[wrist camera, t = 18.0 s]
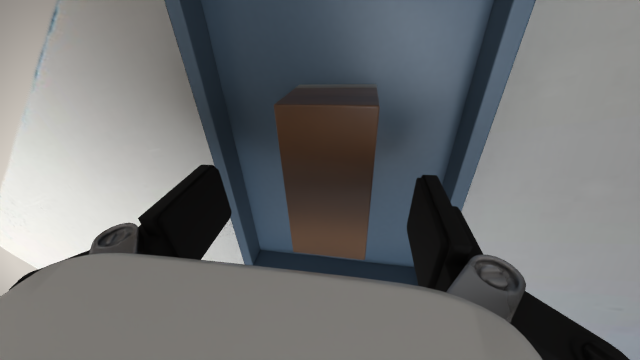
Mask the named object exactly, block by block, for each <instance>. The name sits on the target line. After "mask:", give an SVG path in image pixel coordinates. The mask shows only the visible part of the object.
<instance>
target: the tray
mask: <svg viewBox="0 0 640 360" xmlns="http://www.w3.org/2000/svg"><path fill="white" fill-rule="evenodd" d="M164 1H165V4H166V7H167V10H168V14H169V17H170V20H171V24H172V27H173V30H174V33H175V37H176V40H177V43H178V47H179V50H180V53H181V56H182V60H183V63H184V66H185V70H186V73H187V76H188V80H189V83H190V86H191V89H192V93H193V96H194V99H195V103H196V106H197V109H198V112H199V116H200V119H201V122H202V126H203V129H204V132H205V135H206V139H207V142H208V145H209V149H210V152H211V155H212V159H213V162H214V165H215V167H216V168H217V169H218V170H219V172H220V175H221V178H222V182H223V185H224V188H225V191H226V195H227V198H228V201H229V204H230V208H231V211H232V213H231V217H230V218H231V221H232V224H233V228H234V231H235V234H236V238H237V241H238V244H239V247H240V251H241V254H242V257H243V261H244V264H245V265H252V266H261V267H270V268H279V269H288V270H297V271H306V272H315V273H323V274H332V275H341V276H349V277H358V278H365V279H373V280H381V281H388V282H396V283H403V284H409V285H415V286H418V281H417V277H416V272H415V267H414V263H413V258H412V253H411V248H410V244H409V239H408V234H407V221H408V217H409V212H410V207H411V202H412V198H413V193H414V188H415V184H416V179H417V178H421V176H422V175H437V176H438V178H439V180H440V182H441V184H442V186H443V188H444V190H445V192H446V194H447V196H448V198H449V200H450V202H451V204H452V206H456V207H458V208H459V209H460V211H462V208H463V205H464V202H465V199H466V196H467V194H468V191H469V188H470V185H471V182H472V179H473V177H474V174H475V171H476V168H477V165H478V162H479V160H480V157H481V154H482V151H483V148H484V145H485V143H486V140H487V137H488V134H489V131H490V128H491V126H492V123H493V120H494V117H495V114H496V111H497V109H498V106H499V103H500V100H501V97H502V94H503V92H504V89H505V86H506V83H507V80H508V77H509V75H510V72H511V69H512V66H513V63H514V60H515V58H516V55H517V52H518V49H519V46H520V43H521V41H522V38H523V35H524V32H525V29H526V26H527V24H528V21H529V18H530V15H531V12H532V10H533V7H534V4H535V1H536V0H164ZM334 84H376V85H377V91H378V98H379V105H380V110H379V121H378V131H377V141H376V152H375V162H374V172H373V183H372V193H371V203H370V214H369V224H368V234H367V245H366V255H365V260H359V259H351V258H342V257H333V256H324V255H316V254H307V253H298V252H293V247H292V239H291V232H290V224H289V217H288V209H287V202H286V195H285V187H284V180H283V172H282V165H281V158H280V150H279V143H278V135H277V128H276V120H275V113H274V104H275V103H276V102H278V101H279V100H280V99H282V98H283V97H284V96H286V95H287V94H288V93H289V92H291V91H292V90H293V89H295V88H296V87H297V86H298V85H334Z"/></svg>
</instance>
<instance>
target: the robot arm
mask: <svg viewBox="0 0 640 360" xmlns="http://www.w3.org/2000/svg"><path fill="white" fill-rule="evenodd" d="M231 213H232V211H231V208H230V204H229V201H228V198H227V195H226V191H225V188H224V185H223V182H222V178H221V175H220V172H219V170H218V169H217V168H216V167H215V166H214V165H200V166H199V167H198V168H197V169H195V170H194V171H193V172H192V173H191V174H190V175H188V176H187V177H186V178H185V179H184V180H182V181H181V182H180V183H179V184H178V185H177V186H175V187H174V188H173V189H172V190H171V191H170V192H168V193H167V194H166V195H165V196H164V197H162V198H161V199H160V200H159V201H158V202H157V203H155V204H154V205H153V206H152V207H151V208H149V209H148V210H147V211H146V212H145V213H144V214H142V215H141V216H140V217H139V218H138V219H139V221H140V223H141V225H140V226H139V227H138V226H137V225H135V224H133V223H124V224H119V225H116V226H114V227H111V228H109V229H107V230H105V231H104V232H102V233H101V234H100V235H98V236H97V237H96V238H95V239H94V241H93V243H92V246H91V249H90V250H89V251H86V252H83V253H81V254H78V255H76V256H73V257H70V258H68V259H65V260H62V261H60V262H57V263H54V264H51V265H49V266H47V267H44V268H41V269H39V270H36V271H33V272H30V273H28V274H27V275H25V276H23V277H22V278H21V279H20V280H18V282H17V283H16V284H14V285H13V286H12V287H11V288H10V289H9V291H8V292H7V293H5V294H4V295H2V296H0V360H630V359H628V358H627V357H626V356H625V355H624V354H623V353H622V352H621V351H619V350H618V349H616V348H615V347H614V346H612V345H611V344H609V343H608V342H606V341H605V340H603V339H601V338H600V337H598V336H597V335H595V334H593V333H592V332H590V331H589V330H587V329H585V328H584V327H582V326H581V325H579V324H577V323H576V322H574V321H572V320H571V319H569V318H568V317H566V316H564V315H563V314H561V313H560V312H558V311H556V310H555V309H553V308H552V307H550V306H548V305H547V304H545V303H543V302H542V301H540V300H539V299H537V298H535V297H534V296H532V295H531V294H529V293H527V292H526V291H525V287H526V283H525V280H524V278H523V276H522V275H521V274H520V272H519V271H518V270H517V269H516V268H515V267H513V266H512V265H511V264H509V263H508V262H506V261H504V260H502V259H500V258H498V257H495V256H491V255H483V253H482V251H481V249H480V247H479V245H478V243H477V242H476V240H475V238H474V236H473V234H472V232H471V230H470V228H469V226H468V224H467V222H466V221H465V219H464V217H463V215H462V213H461V211H460V209H459V208H458V207H456V206H452V204H451V202H450V200H449V198H448V196H447V194H446V192H445V190H444V188H443V186H442V184H441V182H440V180H439V178H438V176H437V175H422V176H421V178H417V179H416V184H415V188H414V193H413V198H412V202H411V207H410V212H409V217H408V221H407V234H408V239H409V244H410V248H411V253H412V258H413V263H414V267H415V272H416V277H417V281H418V286H415V285H409V284H403V283H396V282H388V281H381V280H373V279H365V278H358V277H349V276H341V275H332V274H323V273H315V272H306V271H297V270H288V269H279V268H270V267H261V266H252V265H243V264H234V263H225V262H215V261H206V260H201V259H202V257H203V256H204V254H205V253H206V252H207V250H208V249H209V247H210V246H211V244H212V243H213V242H214V240H215V239H216V237H217V236H218V234H219V233H220V232H221V230H222V229H223V227H224V226H225V224H226V223H227V222H228V220H229V219H230V217H231Z"/></svg>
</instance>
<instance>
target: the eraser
mask: <svg viewBox="0 0 640 360" xmlns="http://www.w3.org/2000/svg"><path fill="white" fill-rule="evenodd" d="M379 110H380V105H379V98H378V91H377V85H376V84H334V85H298V86H297V87H296V88H295V89H293V90H292V91H291V92H289V93H288V94H287V95H286V96H284V97H283V98H282V99H280V100H279V101H278V102H276V103H275V104H274V113H275V120H276V128H277V135H278V143H279V150H280V158H281V165H282V172H283V180H284V187H285V195H286V202H287V209H288V217H289V224H290V232H291V239H292V247H293V252H298V253H307V254H316V255H324V256H333V257H342V258H351V259H359V260H365V255H366V245H367V234H368V224H369V214H370V203H371V193H372V183H373V172H374V162H375V152H376V141H377V131H378V121H379Z"/></svg>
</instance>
